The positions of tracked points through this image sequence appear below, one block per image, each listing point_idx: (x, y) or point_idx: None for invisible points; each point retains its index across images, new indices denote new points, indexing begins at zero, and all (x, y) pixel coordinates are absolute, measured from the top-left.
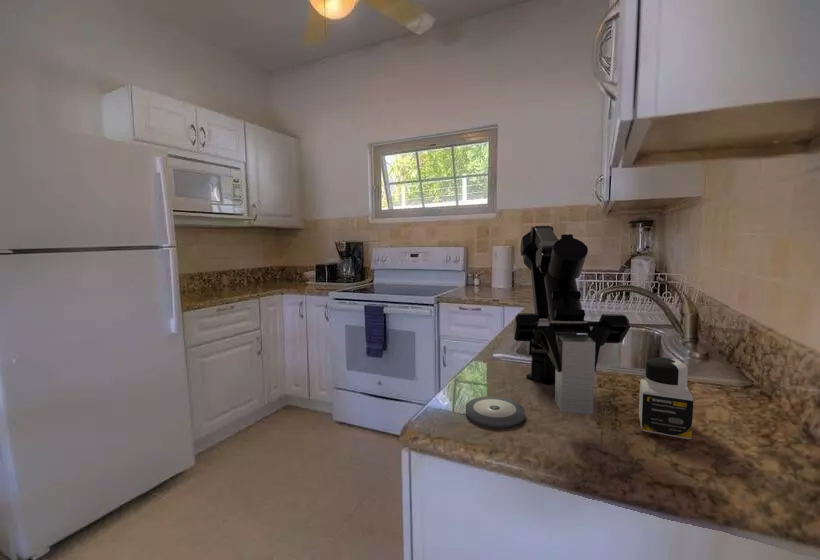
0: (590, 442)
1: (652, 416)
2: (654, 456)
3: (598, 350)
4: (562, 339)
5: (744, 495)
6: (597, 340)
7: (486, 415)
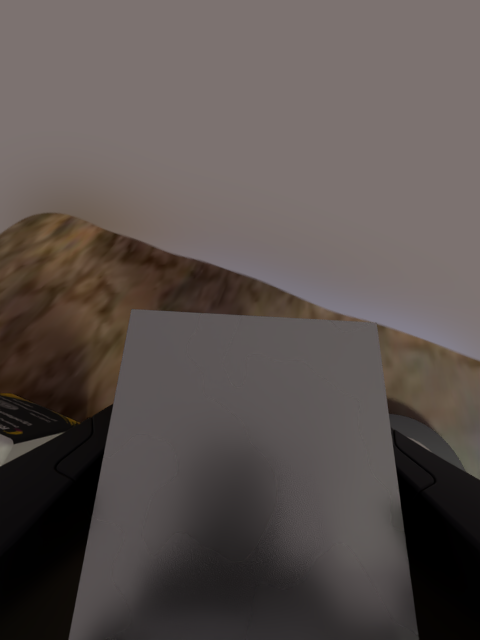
0: None
1: (43, 421)
2: (122, 330)
3: (100, 413)
4: (372, 390)
5: (64, 248)
6: (48, 460)
7: (416, 441)
